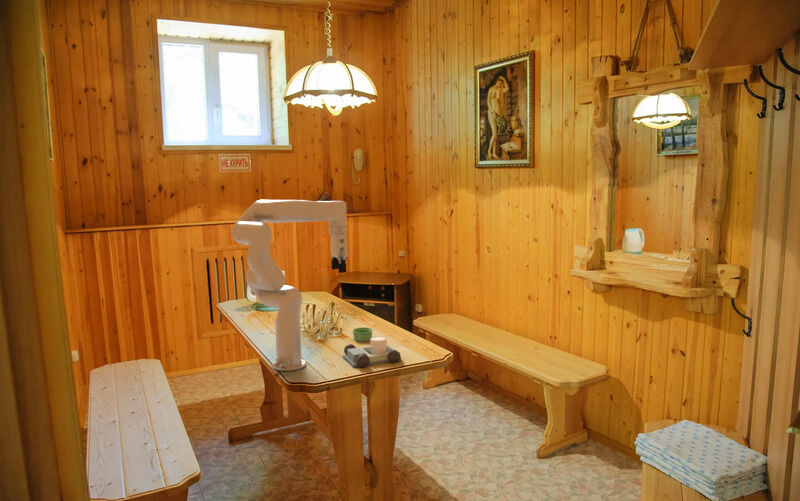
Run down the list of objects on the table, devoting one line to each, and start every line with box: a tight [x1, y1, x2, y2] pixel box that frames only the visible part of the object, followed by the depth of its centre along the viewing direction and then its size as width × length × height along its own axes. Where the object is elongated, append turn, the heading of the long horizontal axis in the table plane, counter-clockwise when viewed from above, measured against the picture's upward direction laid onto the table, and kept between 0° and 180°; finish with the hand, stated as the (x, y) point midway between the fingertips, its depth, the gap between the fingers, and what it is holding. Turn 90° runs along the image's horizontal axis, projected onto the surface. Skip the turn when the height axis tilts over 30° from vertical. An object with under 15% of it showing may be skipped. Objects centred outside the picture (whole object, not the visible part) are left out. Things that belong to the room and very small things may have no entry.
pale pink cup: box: [370, 335, 388, 355], centre depth 223 cm, size 7×7×7 cm
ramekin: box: [352, 326, 373, 343], centre depth 250 cm, size 9×9×4 cm
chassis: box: [342, 343, 402, 369], centre depth 222 cm, size 20×17×5 cm
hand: (338, 270), depth 234 cm, fingers open, 9 cm apart
